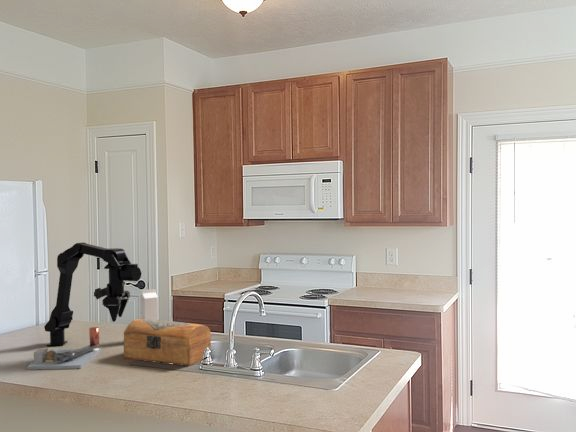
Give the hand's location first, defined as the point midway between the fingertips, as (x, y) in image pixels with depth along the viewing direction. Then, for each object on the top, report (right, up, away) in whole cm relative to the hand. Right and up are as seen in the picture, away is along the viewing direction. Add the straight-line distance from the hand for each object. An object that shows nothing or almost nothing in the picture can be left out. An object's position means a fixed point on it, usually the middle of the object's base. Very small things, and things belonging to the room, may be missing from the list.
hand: (117, 319), depth 224 cm
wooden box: (+22, -13, -10) cm, 28 cm away
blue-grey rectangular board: (-16, -13, -11) cm, 24 cm away
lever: (-11, -11, -11) cm, 19 cm away
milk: (+8, -13, +19) cm, 24 cm away
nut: (-19, -10, -17) cm, 28 cm away
